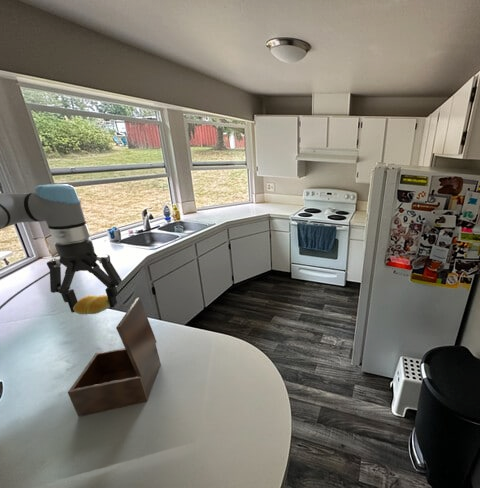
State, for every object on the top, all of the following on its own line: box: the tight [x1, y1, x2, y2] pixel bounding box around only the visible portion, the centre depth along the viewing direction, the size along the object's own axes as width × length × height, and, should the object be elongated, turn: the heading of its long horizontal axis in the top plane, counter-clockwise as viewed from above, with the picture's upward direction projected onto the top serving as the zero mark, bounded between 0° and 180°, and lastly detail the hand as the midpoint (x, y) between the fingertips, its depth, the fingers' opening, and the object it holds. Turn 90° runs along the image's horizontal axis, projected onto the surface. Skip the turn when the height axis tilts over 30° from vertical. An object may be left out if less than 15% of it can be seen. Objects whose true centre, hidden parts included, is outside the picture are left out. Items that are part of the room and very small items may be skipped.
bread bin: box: [67, 343, 162, 418], centre depth 72 cm, size 16×14×9 cm
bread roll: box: [73, 294, 111, 316], centre depth 78 cm, size 8×9×4 cm
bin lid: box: [115, 297, 158, 377], centre depth 70 cm, size 17×14×1 cm
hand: (95, 307), depth 78 cm, fingers closed on bread roll, 9 cm apart
